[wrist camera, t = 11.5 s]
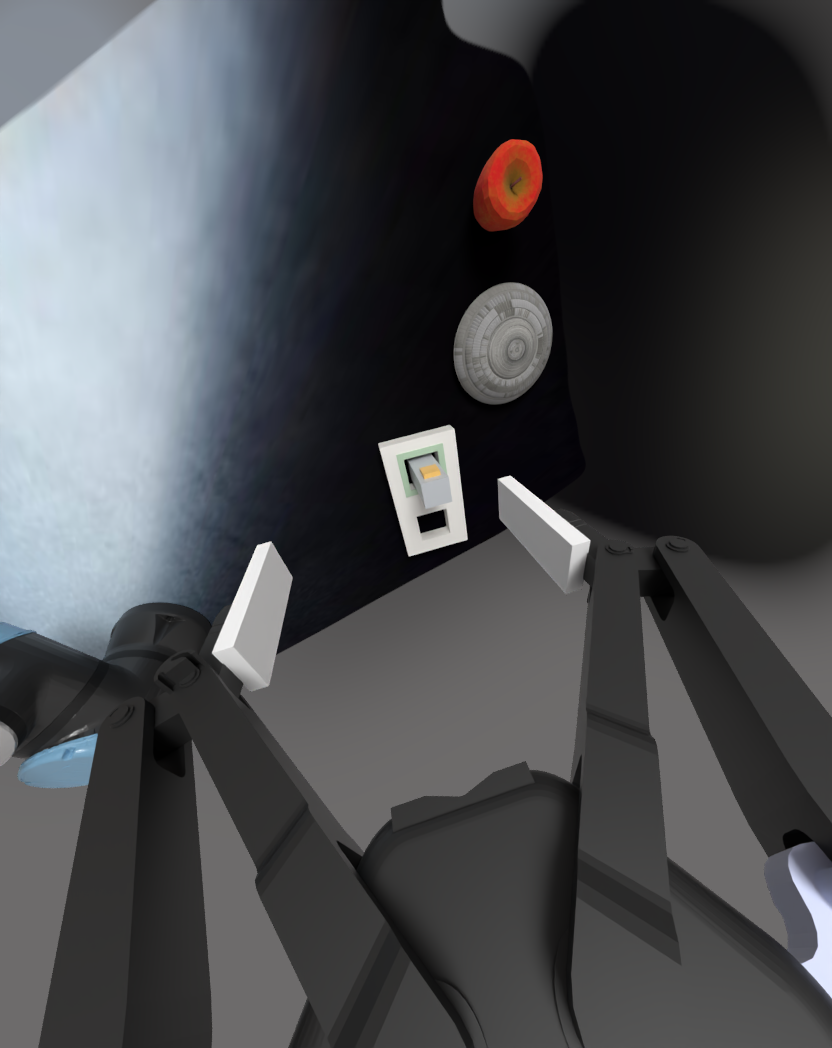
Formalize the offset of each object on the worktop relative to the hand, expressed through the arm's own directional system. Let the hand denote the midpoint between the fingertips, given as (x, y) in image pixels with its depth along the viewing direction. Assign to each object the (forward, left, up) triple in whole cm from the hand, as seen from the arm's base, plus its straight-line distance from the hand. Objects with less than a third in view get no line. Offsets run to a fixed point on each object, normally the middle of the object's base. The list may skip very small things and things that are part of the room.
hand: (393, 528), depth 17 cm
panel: (+7, -16, -33) cm, 37 cm away
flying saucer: (+22, +4, -33) cm, 40 cm away
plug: (+7, -11, -33) cm, 35 cm away
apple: (+21, +19, -33) cm, 43 cm away
